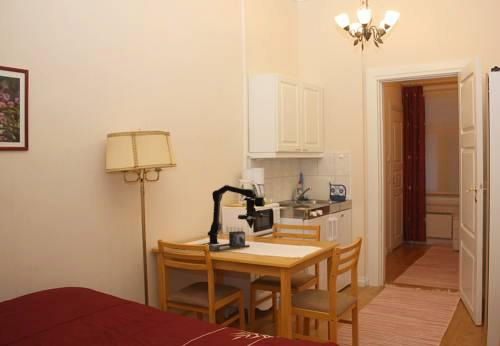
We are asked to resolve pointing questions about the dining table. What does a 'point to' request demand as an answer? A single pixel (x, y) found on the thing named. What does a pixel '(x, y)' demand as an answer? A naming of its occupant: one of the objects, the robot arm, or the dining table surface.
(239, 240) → the small box
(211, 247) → the guide channel
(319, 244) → the dining table surface
